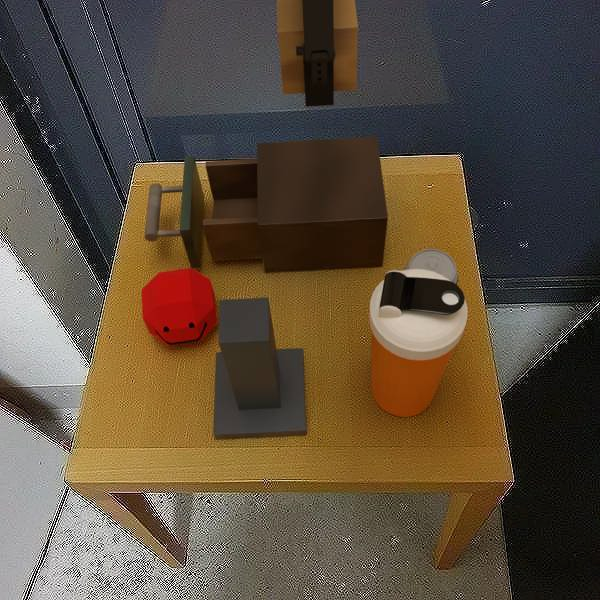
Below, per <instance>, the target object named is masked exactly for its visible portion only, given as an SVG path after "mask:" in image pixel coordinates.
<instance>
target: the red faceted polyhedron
mask: <svg viewBox="0 0 600 600" xmlns="http://www.w3.org/2000/svg"><path fill="white" fill-rule="evenodd" d="M216 302H217V301H216V294H215V290H214V287H213V283H212V280H211V278H210V277H208V276H206V275H204V274H203V273H201V272H199V271H198V270H196V269H193V268H191V267H185V268H179V269H178V268H177V269H172V270H165V271H158V272H157V273H156V275H154V276H153V277H152V278H151V279H150V280H149V282H148V283H147V284H145V286H144V287H143V288H141V313H142V314H141V316H142V320H143V322H144V324H145V327H146V329H147V331H148V334H150V335H152V337H154V338H156V339H157V340H159V341H160V342H162V343H163V344H165V345H166V346H168V347H170V346H171V347H172V346H174V345H175V346H176V345H182V344H188V343H194V342H202V341H203V340H204V339H205V338H206V337H207V336H208V335H209V333H210V332H211V331H212V330H213V329H214V327H216V325H218V324H219V319H218V311H217V310H218V309H217V303H216Z"/></svg>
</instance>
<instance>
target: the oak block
mask: <svg viewBox="0 0 600 600" xmlns="http://www.w3.org/2000/svg"><path fill="white" fill-rule="evenodd" d="M333 14H334V51H335V55H336V56H335V60H334V92H347V91H348V92H349V91H350V92H351V91H357V80H358V79H357V77H358V70H357V69H358V45H359V23H358V15H357V7H356V0H333ZM276 17H277V18H276V20H277V21H276V24H277V39H278V51H279V63H280V64H279V65H280V75H281V87H282V88H281V89H282V94H283V95H295V94H296V95H297V94H305V83H304V63H303V55H302V56H296V46H303V45H304V27H303V6H302V0H276Z"/></svg>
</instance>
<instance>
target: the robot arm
mask: <svg viewBox="0 0 600 600" xmlns="http://www.w3.org/2000/svg"><path fill="white" fill-rule="evenodd" d="M302 6H303V27H304V45H303V46H296V56H302V55H303V63H304V83H305V93H304V100H305V102H304V103H305V107H306V108H307V107H308V108H309V107H325V106H327V107H328V106H334V105H335V101H334V100H335V99H334V98H335V91H334V60H335V56H336V55H335V51H334V14H333V0H302Z"/></svg>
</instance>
